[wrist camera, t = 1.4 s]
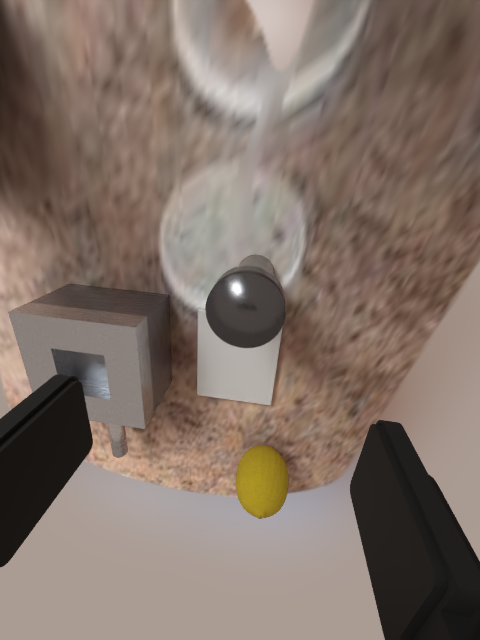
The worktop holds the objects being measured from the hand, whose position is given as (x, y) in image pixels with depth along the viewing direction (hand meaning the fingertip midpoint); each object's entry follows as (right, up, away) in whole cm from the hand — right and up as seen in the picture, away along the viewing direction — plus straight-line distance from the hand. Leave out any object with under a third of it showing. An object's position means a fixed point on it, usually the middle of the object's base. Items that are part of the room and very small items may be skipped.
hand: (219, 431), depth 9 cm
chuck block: (-12, -2, +22) cm, 25 cm away
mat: (0, 0, +20) cm, 20 cm away
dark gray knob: (+2, +8, +16) cm, 18 cm away
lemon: (+4, -11, +25) cm, 27 cm away
